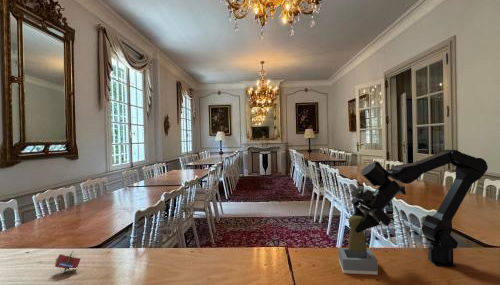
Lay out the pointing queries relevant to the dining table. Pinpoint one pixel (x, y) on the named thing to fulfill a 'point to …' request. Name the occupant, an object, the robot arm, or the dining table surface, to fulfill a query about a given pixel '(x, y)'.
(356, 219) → the cork
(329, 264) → the dining table surface
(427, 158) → the robot arm
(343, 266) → the box
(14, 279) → the dining table surface
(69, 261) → the geometric puzzle
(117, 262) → the dining table surface
